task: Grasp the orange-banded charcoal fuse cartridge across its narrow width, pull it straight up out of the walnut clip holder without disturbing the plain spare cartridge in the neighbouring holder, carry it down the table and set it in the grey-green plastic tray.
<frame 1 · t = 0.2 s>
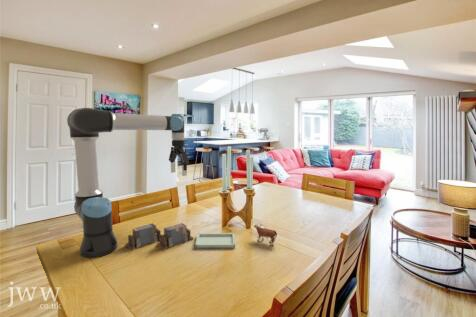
hand: (178, 174, 154), 28 cm above the table, fingers open, 13 cm apart
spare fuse: (145, 242, 123), on the table
fuse: (175, 242, 124), on the table
bull figurine: (264, 241, 126), on the table
clip holder: (175, 242, 124), on the table
tray: (215, 242, 124), on the table
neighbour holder: (145, 242, 123), on the table
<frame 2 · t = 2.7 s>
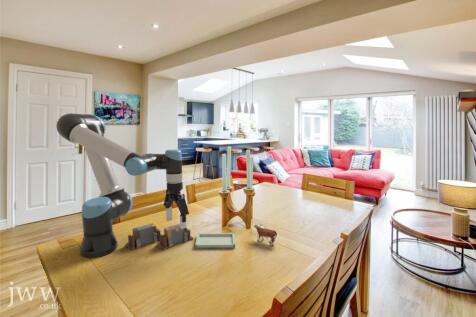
hand: (176, 224, 122), 9 cm above the table, fingers open, 13 cm apart
nothing on the table moved.
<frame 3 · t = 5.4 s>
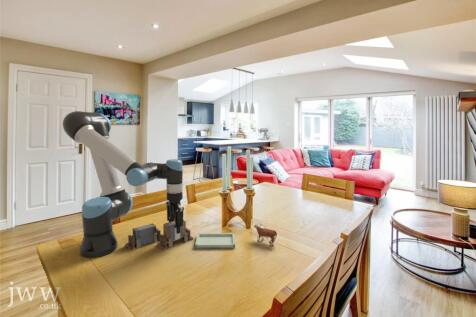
hand: (174, 237, 123), 3 cm above the table, fingers closed on fuse, 4 cm apart
fuse: (174, 238, 123), point 2 cm above the table, touching gripper
everything else where it was.
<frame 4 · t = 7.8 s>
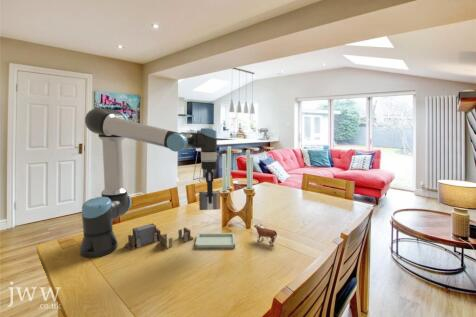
hand: (210, 207, 122), 18 cm above the table, fingers closed on fuse, 4 cm apart
fuse: (210, 208, 122), point 18 cm above the table, touching gripper
everything else where it was.
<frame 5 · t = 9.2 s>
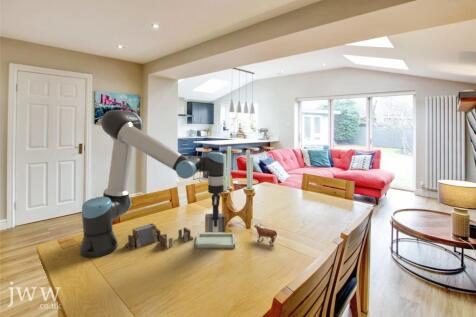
hand: (215, 230, 124), 6 cm above the table, fingers closed on fuse, 4 cm apart
fuse: (215, 230, 124), point 6 cm above the table, touching gripper
everything else where it was.
when the fingers open (1 cm above the table, at t = 10.2 s): fuse stays where it is, resting on tray.
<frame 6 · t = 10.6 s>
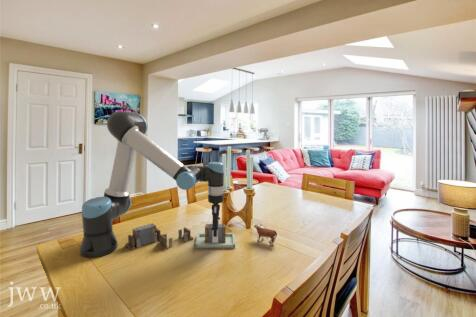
hand: (215, 237, 124), 3 cm above the table, fingers open, 10 cm apart
fuse: (215, 240, 124), point 1 cm above the table, touching tray
everything else where it was.
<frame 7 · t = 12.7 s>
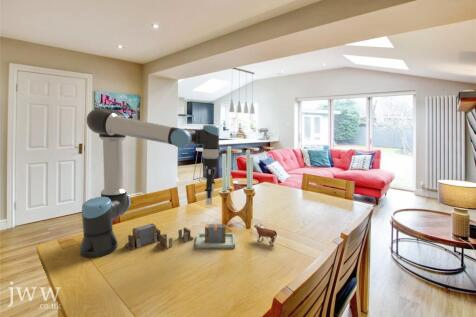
hand: (210, 200, 123), 21 cm above the table, fingers open, 13 cm apart
nothing on the table moved.
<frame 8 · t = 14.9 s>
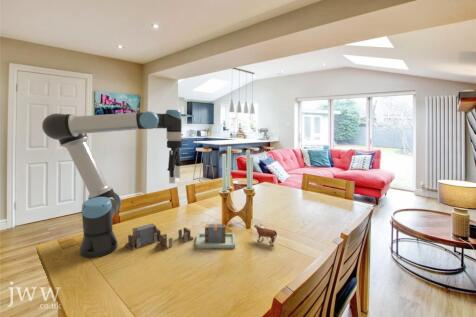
hand: (175, 180, 132), 29 cm above the table, fingers open, 13 cm apart
nothing on the table moved.
at the end: fuse 0.1 cm from the tray (horizontally); fuse point 0.6 cm above the table; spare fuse moved 0.0 cm from its start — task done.
